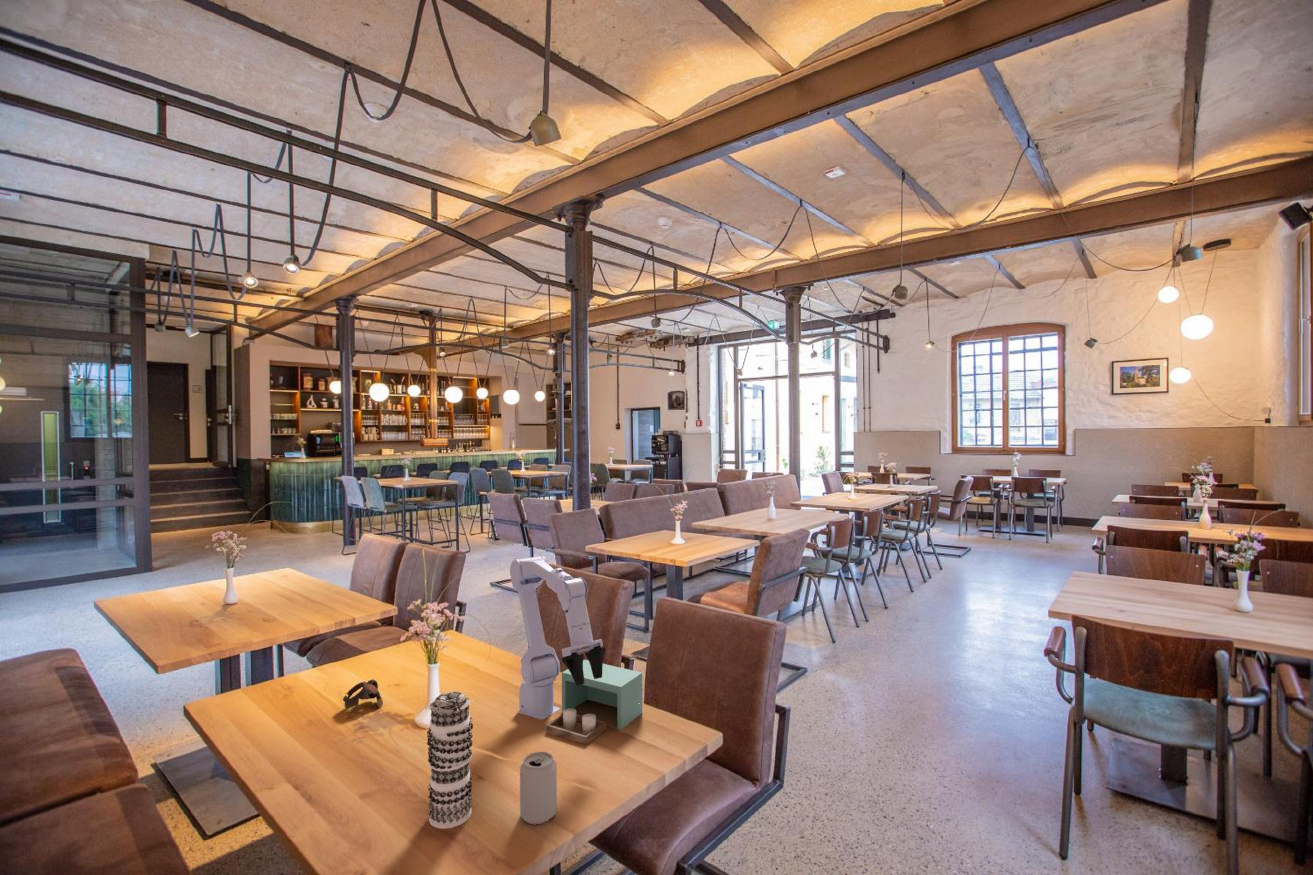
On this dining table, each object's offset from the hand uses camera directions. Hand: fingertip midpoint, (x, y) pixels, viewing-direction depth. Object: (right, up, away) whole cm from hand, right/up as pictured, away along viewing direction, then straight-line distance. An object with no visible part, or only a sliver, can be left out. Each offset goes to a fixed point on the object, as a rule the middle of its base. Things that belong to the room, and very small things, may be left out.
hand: (589, 681), depth 151 cm
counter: (+1, -18, +20) cm, 26 cm away
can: (-8, -18, -25) cm, 32 cm away
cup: (-7, -17, +12) cm, 22 cm away
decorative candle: (-26, -18, -25) cm, 40 cm away
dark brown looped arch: (-68, -18, +26) cm, 75 cm away
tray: (-5, -18, +9) cm, 20 cm away
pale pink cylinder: (-1, -17, +9) cm, 19 cm away
